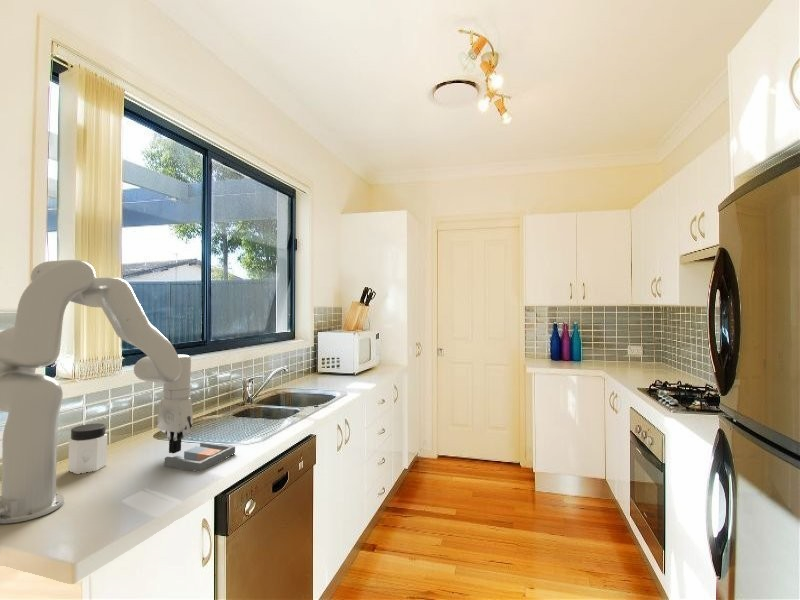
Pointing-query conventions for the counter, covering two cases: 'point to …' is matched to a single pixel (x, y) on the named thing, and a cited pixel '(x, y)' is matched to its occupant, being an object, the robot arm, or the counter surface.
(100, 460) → the jar
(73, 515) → the counter surface
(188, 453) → the tile
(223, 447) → the tray
